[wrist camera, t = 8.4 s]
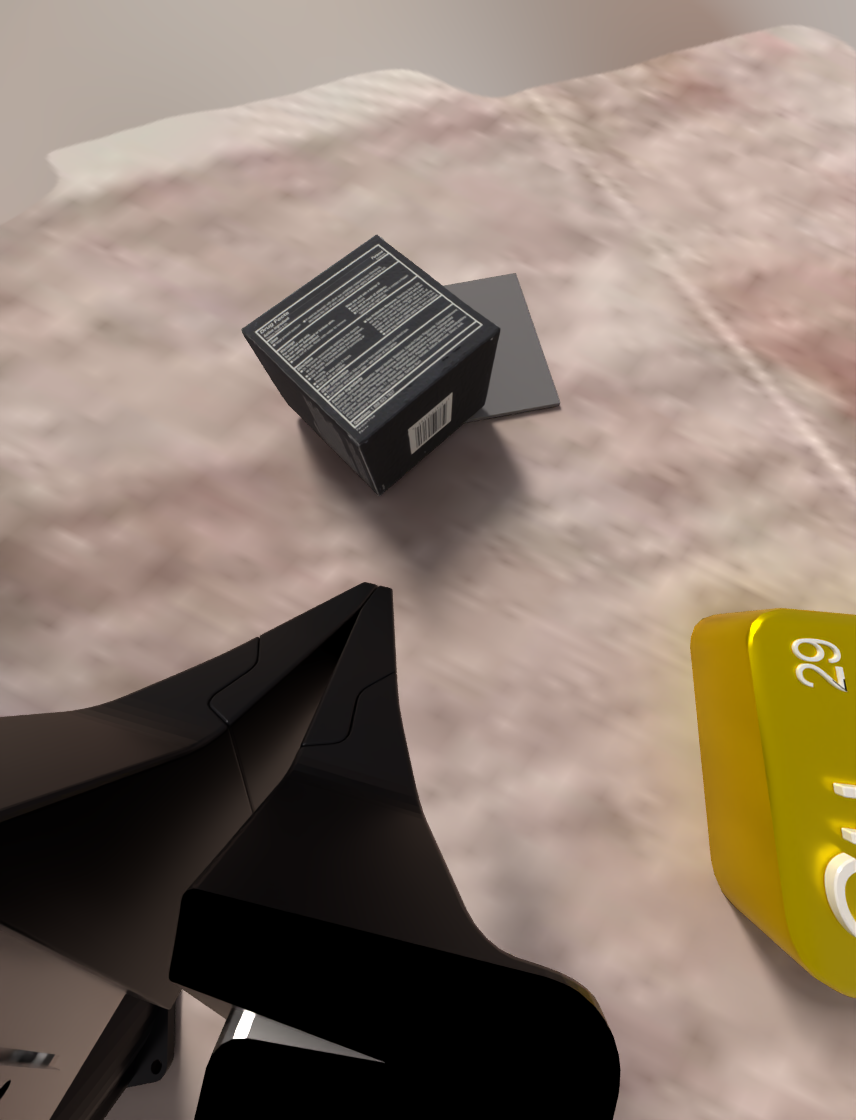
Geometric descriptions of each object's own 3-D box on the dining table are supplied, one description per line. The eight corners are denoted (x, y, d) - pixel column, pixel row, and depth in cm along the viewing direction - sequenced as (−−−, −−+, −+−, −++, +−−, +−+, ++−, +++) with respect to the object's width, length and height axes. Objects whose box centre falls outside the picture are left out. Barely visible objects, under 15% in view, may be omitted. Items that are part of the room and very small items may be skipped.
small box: (487, 409, 24) (393, 326, 25) (507, 325, 17) (379, 224, 19) (378, 500, 22) (287, 406, 24) (356, 446, 16) (234, 322, 18)
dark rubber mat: (558, 405, 24) (560, 402, 23) (344, 444, 23) (343, 442, 23) (514, 277, 27) (515, 272, 27) (326, 310, 27) (325, 306, 26)
